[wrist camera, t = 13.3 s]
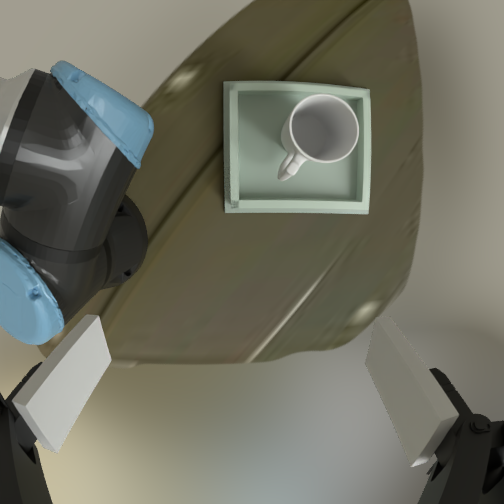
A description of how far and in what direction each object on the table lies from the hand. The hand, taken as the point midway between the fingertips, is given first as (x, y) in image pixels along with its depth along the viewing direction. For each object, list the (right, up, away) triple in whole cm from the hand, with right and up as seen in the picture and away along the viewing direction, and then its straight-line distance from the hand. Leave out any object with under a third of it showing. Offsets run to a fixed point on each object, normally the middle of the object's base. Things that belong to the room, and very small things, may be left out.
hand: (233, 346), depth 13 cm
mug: (+7, +18, +24) cm, 31 cm away
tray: (+7, +18, +24) cm, 31 cm away
